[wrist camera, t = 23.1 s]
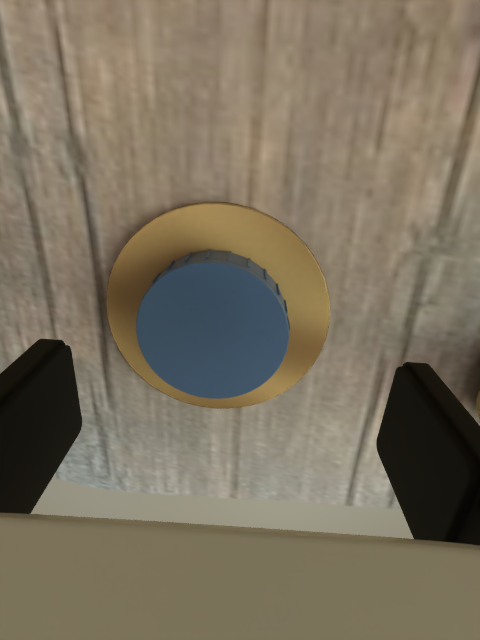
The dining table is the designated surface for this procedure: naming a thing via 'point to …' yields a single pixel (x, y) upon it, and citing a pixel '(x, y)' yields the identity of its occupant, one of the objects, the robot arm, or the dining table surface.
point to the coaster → (242, 239)
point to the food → (478, 404)
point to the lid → (213, 325)
